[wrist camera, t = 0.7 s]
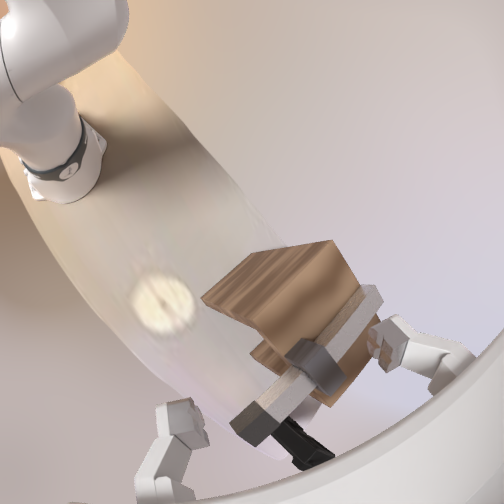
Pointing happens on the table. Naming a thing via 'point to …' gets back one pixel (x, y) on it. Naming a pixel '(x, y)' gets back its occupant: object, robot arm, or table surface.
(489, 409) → the robot arm
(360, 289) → the steel pull bar
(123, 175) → the table surface
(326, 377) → the walnut shelf stand
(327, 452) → the portable radio
